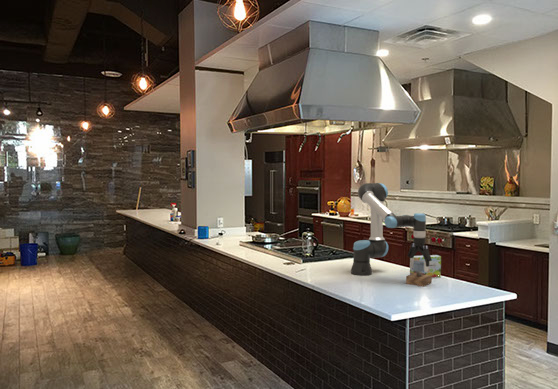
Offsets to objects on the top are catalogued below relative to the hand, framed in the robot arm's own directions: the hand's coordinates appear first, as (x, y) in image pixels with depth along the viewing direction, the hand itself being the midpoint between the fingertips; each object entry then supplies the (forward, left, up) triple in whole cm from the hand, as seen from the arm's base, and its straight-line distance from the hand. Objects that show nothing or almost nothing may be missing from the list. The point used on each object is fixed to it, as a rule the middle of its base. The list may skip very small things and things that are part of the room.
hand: (419, 269), depth 316 cm
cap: (0, 0, -1) cm, 1 cm away
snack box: (-5, +21, -10) cm, 24 cm away
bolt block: (0, 0, -9) cm, 9 cm away
